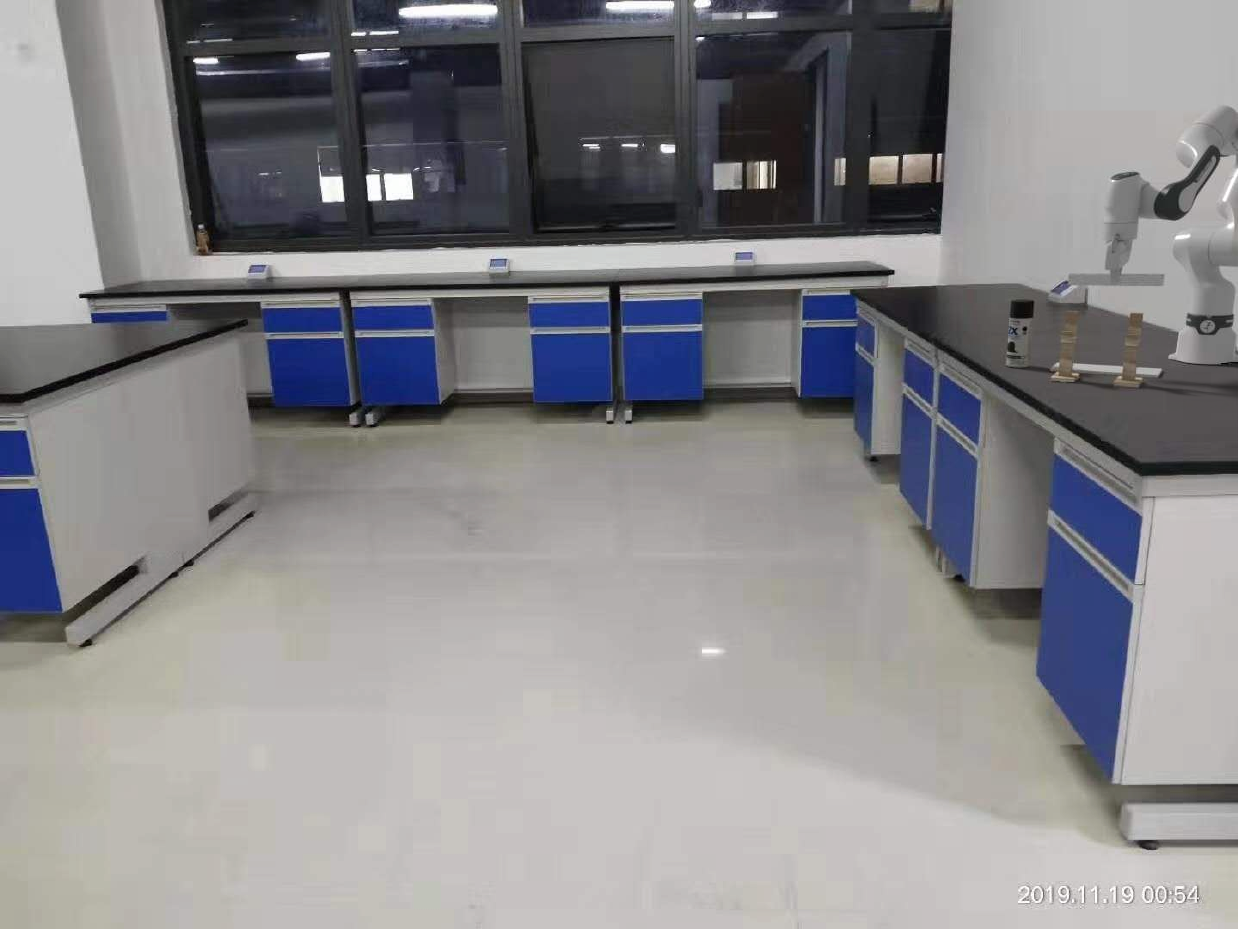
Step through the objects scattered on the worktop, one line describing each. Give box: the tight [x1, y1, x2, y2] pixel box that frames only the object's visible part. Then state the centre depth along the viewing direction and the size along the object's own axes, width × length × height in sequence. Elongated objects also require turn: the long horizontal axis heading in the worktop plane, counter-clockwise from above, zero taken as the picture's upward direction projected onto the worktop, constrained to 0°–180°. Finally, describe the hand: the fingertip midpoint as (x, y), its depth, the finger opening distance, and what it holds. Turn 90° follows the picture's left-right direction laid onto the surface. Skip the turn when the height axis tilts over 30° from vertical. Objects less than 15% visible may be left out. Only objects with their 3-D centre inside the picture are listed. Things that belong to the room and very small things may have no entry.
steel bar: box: [1067, 273, 1166, 287], centre depth 269 cm, size 3×24×3 cm, turn 56°
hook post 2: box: [1113, 312, 1144, 388], centre depth 257 cm, size 8×6×19 cm
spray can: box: [1005, 298, 1035, 369], centre depth 286 cm, size 7×7×20 cm
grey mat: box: [1049, 361, 1163, 379], centre depth 277 cm, size 10×28×1 cm, turn 55°
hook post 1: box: [1050, 310, 1080, 383], centre depth 266 cm, size 8×6×19 cm
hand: (1115, 282), depth 269 cm, fingers closed on steel bar, 3 cm apart
